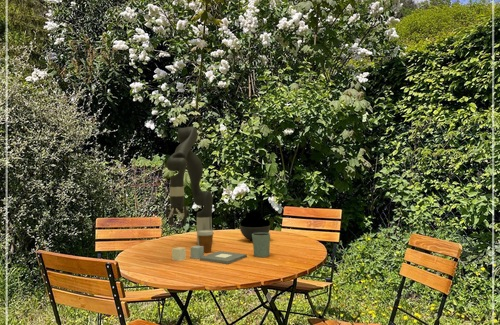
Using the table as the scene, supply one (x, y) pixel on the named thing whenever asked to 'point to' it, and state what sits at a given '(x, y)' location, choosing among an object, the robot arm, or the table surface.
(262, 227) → the coal bowl
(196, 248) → the blue grey block
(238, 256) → the board
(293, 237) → the table surface
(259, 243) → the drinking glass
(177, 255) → the cream block
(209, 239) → the disposable coffee cup
